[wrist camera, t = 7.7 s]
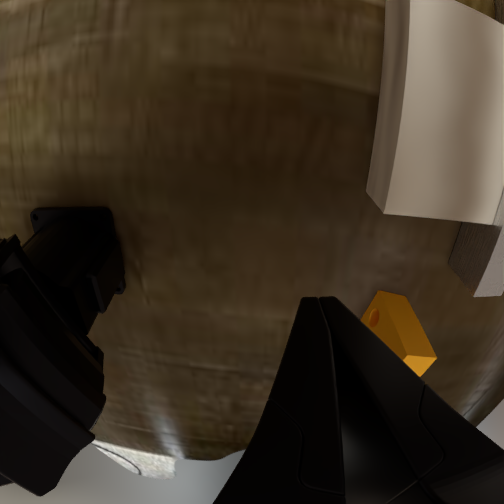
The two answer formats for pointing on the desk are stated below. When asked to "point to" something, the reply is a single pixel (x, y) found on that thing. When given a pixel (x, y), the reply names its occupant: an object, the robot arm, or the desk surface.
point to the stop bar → (482, 242)
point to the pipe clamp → (399, 330)
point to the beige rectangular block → (439, 113)
